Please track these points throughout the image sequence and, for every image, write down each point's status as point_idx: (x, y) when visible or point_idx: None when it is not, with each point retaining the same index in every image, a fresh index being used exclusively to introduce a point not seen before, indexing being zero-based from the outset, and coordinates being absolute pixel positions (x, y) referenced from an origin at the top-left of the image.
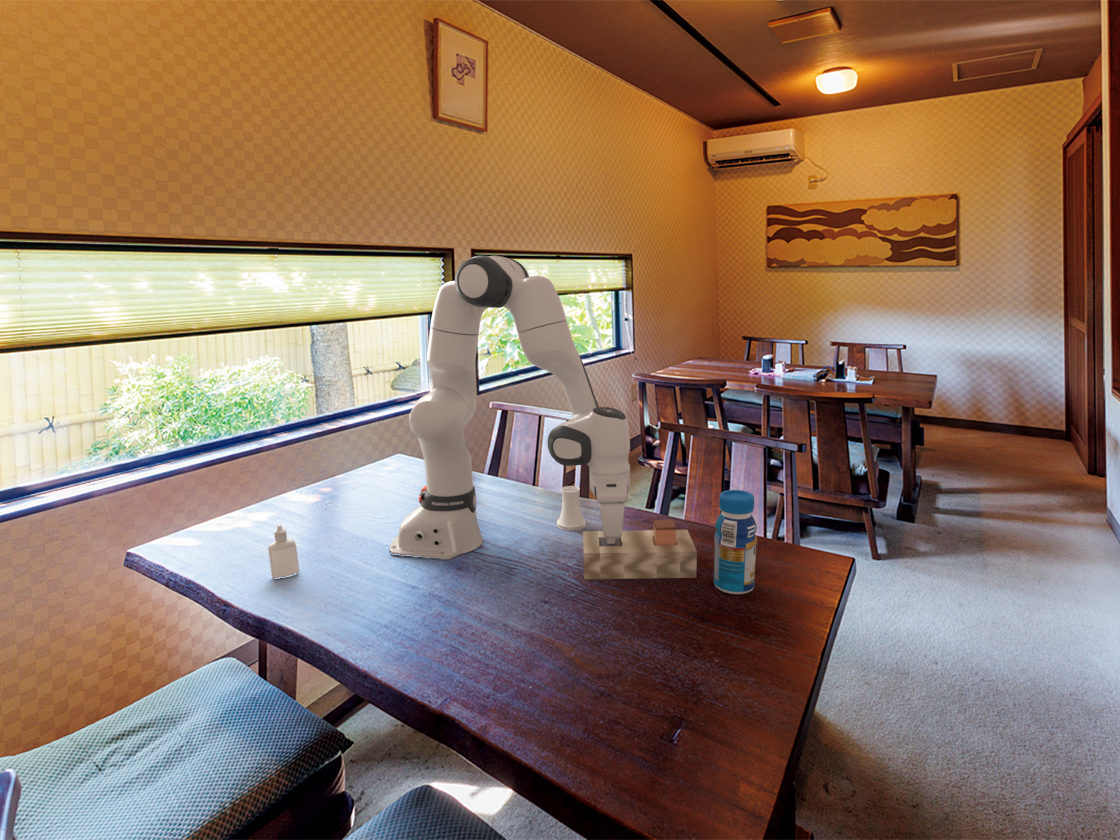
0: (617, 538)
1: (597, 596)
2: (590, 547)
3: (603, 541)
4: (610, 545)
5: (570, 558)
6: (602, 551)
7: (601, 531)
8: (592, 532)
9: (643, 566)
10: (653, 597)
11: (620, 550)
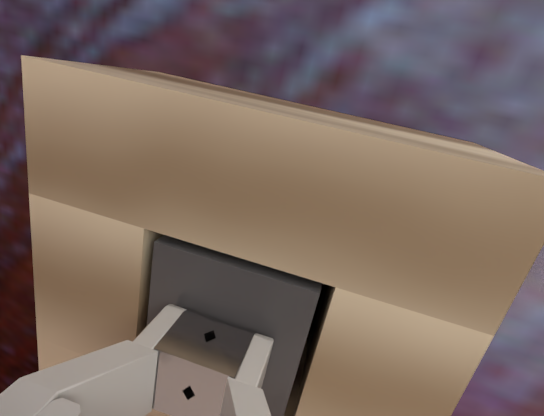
0: (267, 402)
1: (8, 98)
2: (129, 147)
3: (234, 290)
4: (152, 309)
5: (464, 37)
6: (54, 218)
7: (469, 358)
8: (485, 273)
9: None
10: (12, 295)
11: (66, 334)
